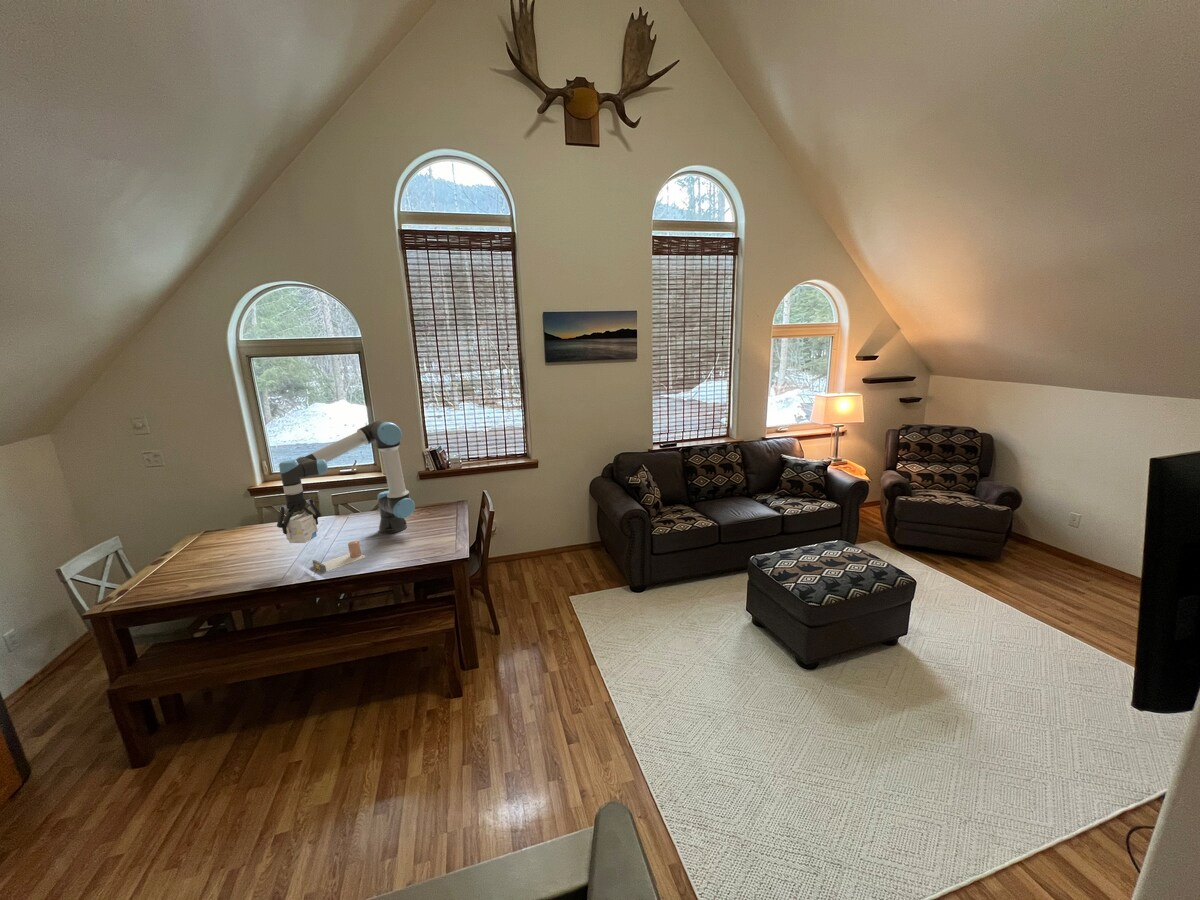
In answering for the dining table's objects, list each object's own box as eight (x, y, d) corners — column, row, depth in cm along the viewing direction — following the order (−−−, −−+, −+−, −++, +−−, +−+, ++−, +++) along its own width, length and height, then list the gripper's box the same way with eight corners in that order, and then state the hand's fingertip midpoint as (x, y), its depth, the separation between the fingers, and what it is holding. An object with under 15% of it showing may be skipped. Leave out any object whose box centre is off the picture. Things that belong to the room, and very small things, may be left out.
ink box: (301, 536, 236) (296, 510, 233) (317, 536, 235) (312, 510, 232) (289, 543, 228) (283, 517, 225) (305, 543, 227) (299, 516, 224)
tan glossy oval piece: (358, 552, 243) (356, 540, 241) (363, 555, 240) (360, 542, 238) (348, 556, 239) (346, 543, 238) (353, 558, 236) (350, 545, 235)
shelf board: (355, 554, 245) (354, 545, 244) (366, 559, 238) (365, 551, 237) (313, 569, 230) (311, 560, 229) (323, 575, 222) (322, 566, 222)
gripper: (317, 485, 238) (324, 526, 242) (262, 498, 220) (272, 542, 224) (323, 487, 233) (331, 528, 238) (268, 500, 215) (278, 545, 220)
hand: (302, 535), depth 231 cm, fingers closed on ink box, 11 cm apart
